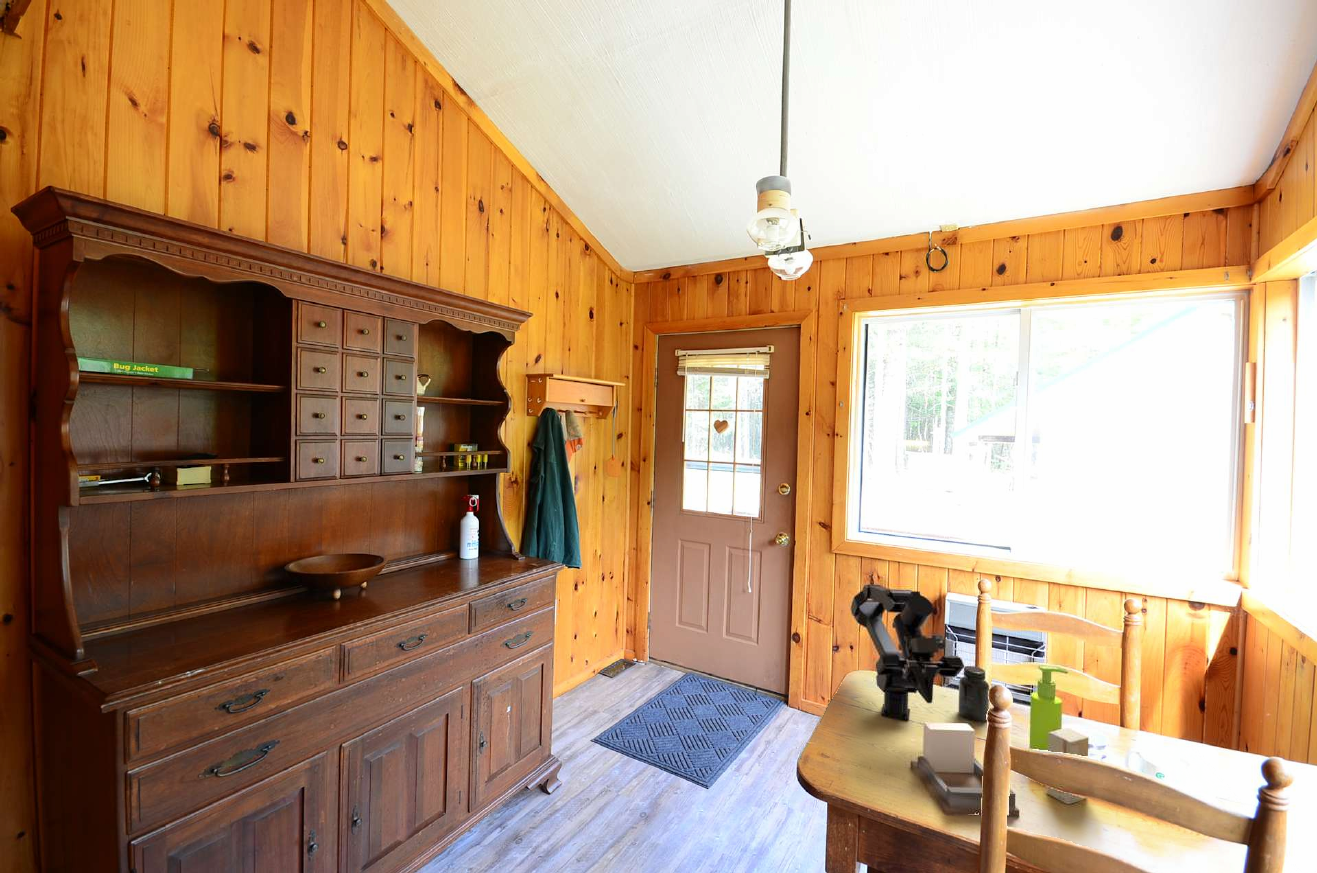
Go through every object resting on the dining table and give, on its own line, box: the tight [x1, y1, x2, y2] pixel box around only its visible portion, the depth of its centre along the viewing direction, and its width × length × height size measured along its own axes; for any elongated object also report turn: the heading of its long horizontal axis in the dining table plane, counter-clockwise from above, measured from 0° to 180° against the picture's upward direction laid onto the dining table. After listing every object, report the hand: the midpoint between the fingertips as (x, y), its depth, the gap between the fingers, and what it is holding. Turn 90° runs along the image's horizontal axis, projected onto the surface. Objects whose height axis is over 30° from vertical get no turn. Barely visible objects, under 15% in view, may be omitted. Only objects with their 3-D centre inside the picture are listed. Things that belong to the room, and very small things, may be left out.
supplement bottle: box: [958, 665, 990, 723], centre depth 151 cm, size 7×7×12 cm
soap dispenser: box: [1029, 664, 1069, 750], centre depth 132 cm, size 6×7×20 cm
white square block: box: [922, 721, 976, 773], centre depth 124 cm, size 4×9×9 cm, turn 90°
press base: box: [909, 755, 1020, 818], centre depth 118 cm, size 16×14×4 cm
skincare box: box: [1046, 727, 1090, 805], centre depth 118 cm, size 6×4×12 cm
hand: (929, 702), depth 133 cm, fingers closed
